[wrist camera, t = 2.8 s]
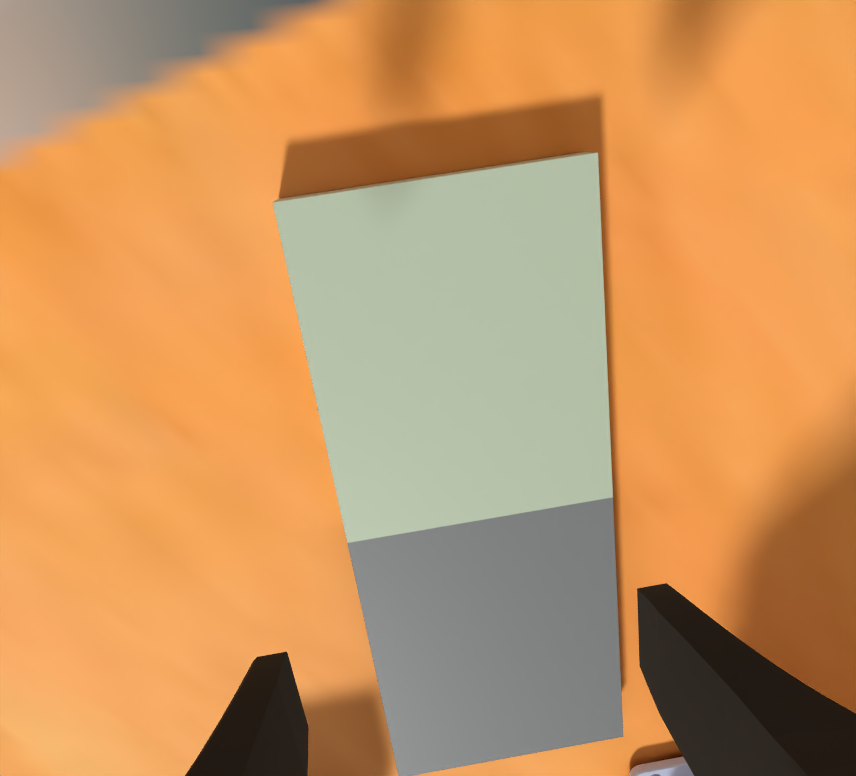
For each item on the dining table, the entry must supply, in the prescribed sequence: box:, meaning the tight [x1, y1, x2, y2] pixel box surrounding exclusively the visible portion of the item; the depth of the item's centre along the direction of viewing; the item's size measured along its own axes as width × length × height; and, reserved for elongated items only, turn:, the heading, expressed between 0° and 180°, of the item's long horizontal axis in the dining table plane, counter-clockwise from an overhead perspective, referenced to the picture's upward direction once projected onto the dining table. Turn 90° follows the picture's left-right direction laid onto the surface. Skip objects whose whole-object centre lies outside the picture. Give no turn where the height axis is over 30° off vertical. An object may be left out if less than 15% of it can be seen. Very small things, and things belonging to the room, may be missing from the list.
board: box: [273, 152, 623, 776], centre depth 22 cm, size 9×22×1 cm, turn 8°
